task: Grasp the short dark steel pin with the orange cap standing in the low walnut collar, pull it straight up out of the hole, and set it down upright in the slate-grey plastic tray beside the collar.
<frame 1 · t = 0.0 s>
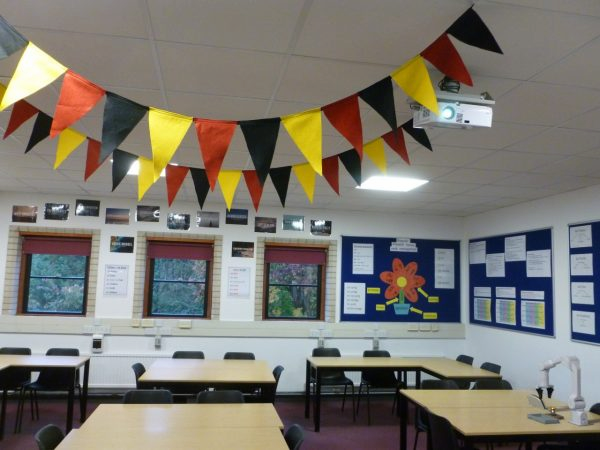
hand: (545, 398, 352), 10 cm above the table, tool pointing down, fingers open, 7 cm apart
pin: (553, 418, 337), resting in holder
holder: (553, 417, 337), on the table
tray: (543, 420, 330), on the table
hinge: (537, 407, 369), on the table
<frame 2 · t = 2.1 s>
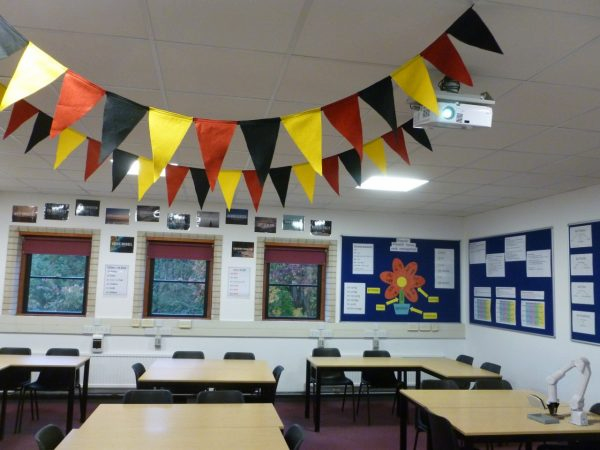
hand: (553, 413, 338), 3 cm above the table, tool pointing down, fingers closed on pin, 4 cm apart
pin: (553, 418, 337), resting in holder, touching gripper
everything else where it was.
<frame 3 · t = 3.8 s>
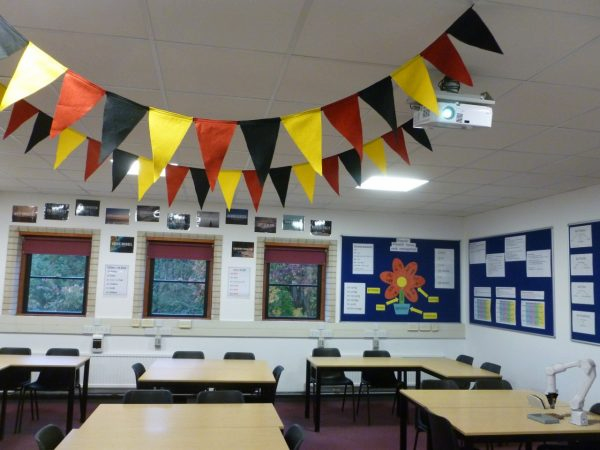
hand: (552, 404, 338), 9 cm above the table, tool pointing down, fingers closed on pin, 4 cm apart
pin: (552, 408, 338), point 6 cm above the table, touching gripper
everything else where it was.
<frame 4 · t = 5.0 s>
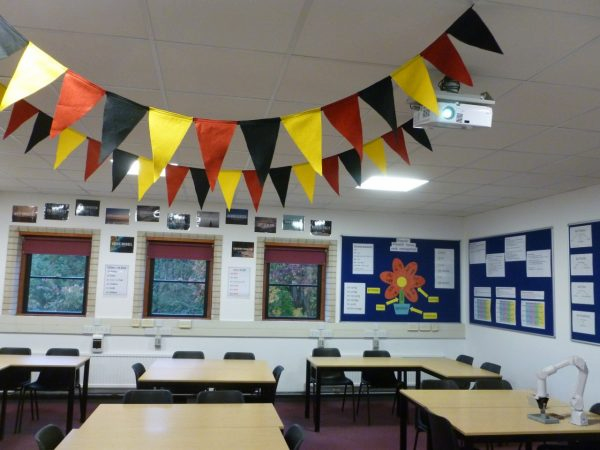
hand: (542, 408, 331), 8 cm above the table, tool pointing down, fingers closed on pin, 4 cm apart
pin: (543, 413, 331), point 5 cm above the table, touching gripper
everything else where it was.
when the fingers open (5 cm above the table, at t = 6.0 s): pin drops 1 cm, resting on tray.
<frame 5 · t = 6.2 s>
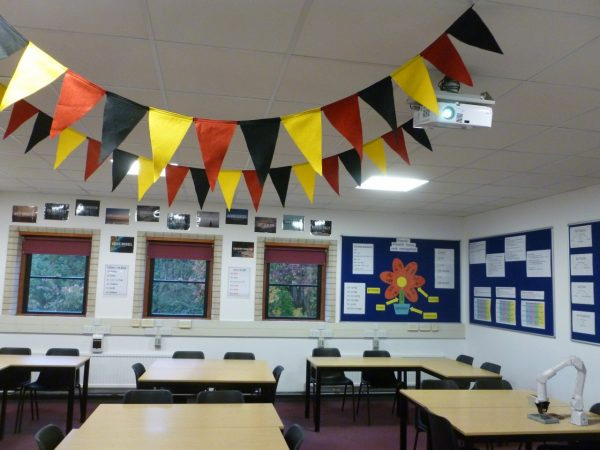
hand: (542, 412, 331), 5 cm above the table, tool pointing down, fingers open, 6 cm apart
pin: (543, 419, 330), point 1 cm above the table, touching tray
everything else where it was.
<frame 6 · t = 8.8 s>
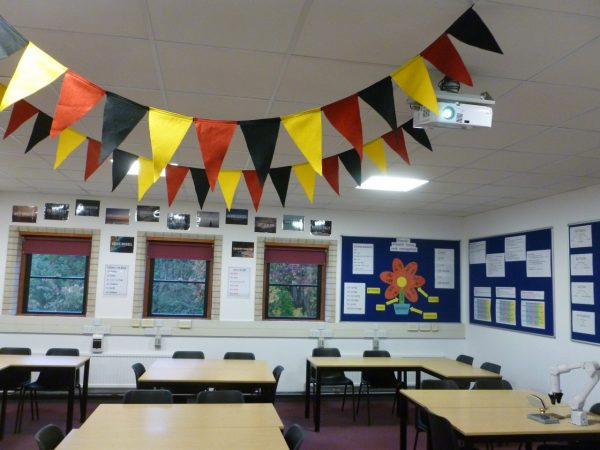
hand: (556, 404, 337), 10 cm above the table, tool pointing down, fingers open, 7 cm apart
nothing on the table moved.
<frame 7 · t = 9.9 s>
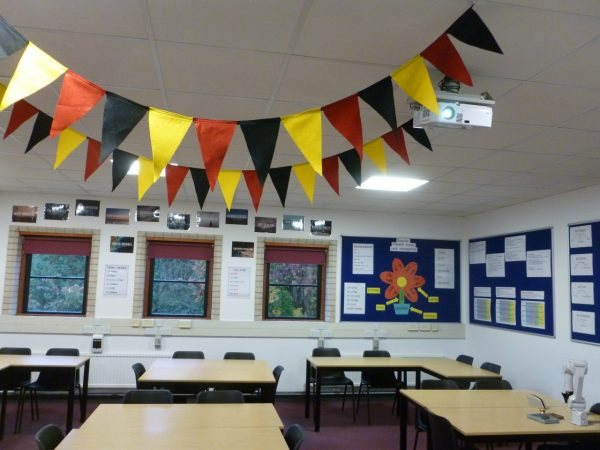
hand: (569, 402, 341), 10 cm above the table, tool pointing down, fingers open, 7 cm apart
nothing on the table moved.
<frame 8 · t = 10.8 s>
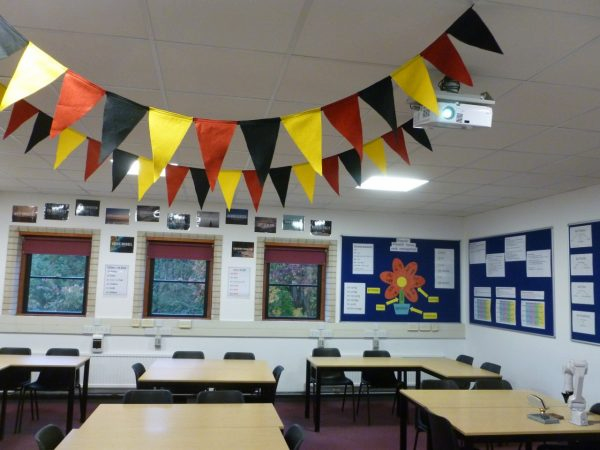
hand: (569, 402, 341), 10 cm above the table, tool pointing down, fingers open, 7 cm apart
nothing on the table moved.
at the end: pin inside the target area on the tray (0.2 cm from its centre), point 0.6 cm above the tray's base; pin tilted 0°; the gripper is holding nothing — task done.
